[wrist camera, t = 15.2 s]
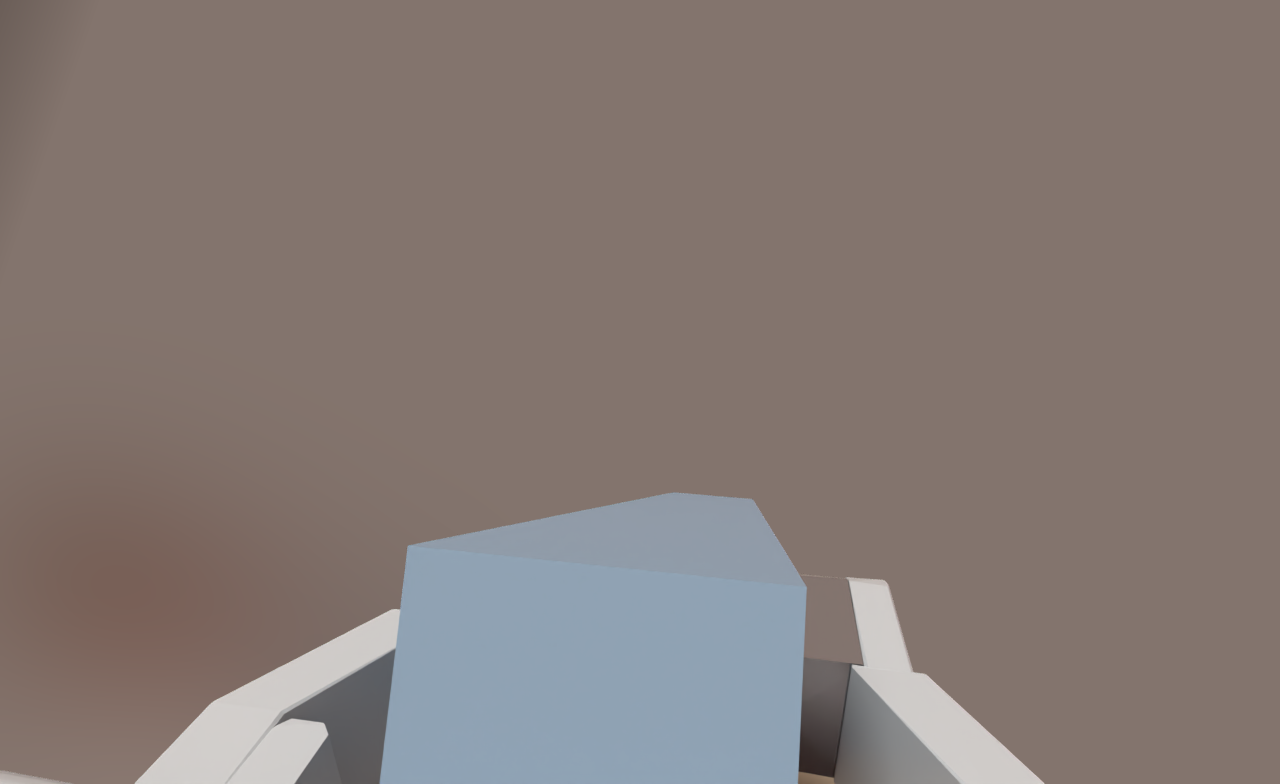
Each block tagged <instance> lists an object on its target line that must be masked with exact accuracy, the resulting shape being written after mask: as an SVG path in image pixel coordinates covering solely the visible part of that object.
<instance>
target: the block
mask: <svg viewBox="0 0 1280 784" xmlns="http://www.w3.org/2000/svg"><path fill="white" fill-rule="evenodd" d="M806 593H807V587H806V585H805V583H804V582H803V580H802V579H801V577H800V575H799V574H798V572H797V570H796V569H795V567H794V566H793V564H792V562H791V561H790V559H789V557H788V556H787V554H786V553H785V551H784V549H783V548H782V546H781V544H780V543H779V541H778V540H777V538H776V536H775V535H774V533H773V531H772V530H771V528H770V527H769V525H768V523H767V522H766V520H765V519H764V517H763V515H762V514H761V512H760V511H759V509H758V507H757V505H756V504H755V502H754V501H753V499H745V498H732V497H720V496H709V495H696V494H685V493H684V494H683V493H669V494H663V495H658V496H653V497H648V498H643V499H638V500H633V501H628V502H623V503H618V504H613V505H609V506H604V507H599V508H594V509H588V510H583V511H578V512H573V513H568V514H563V515H558V516H553V517H548V518H544V519H539V520H533V521H528V522H523V523H518V524H513V525H509V526H503V527H499V528H493V529H489V530H484V531H479V532H474V533H469V534H464V535H459V536H454V537H449V538H444V539H439V540H434V541H429V542H424V543H419V544H414V545H409V546H408V550H407V559H406V567H405V575H404V584H403V592H402V600H401V608H400V617H399V625H398V633H397V642H396V650H395V659H394V667H393V675H392V684H391V692H390V700H389V709H388V717H387V725H386V734H385V742H384V751H383V759H382V767H381V776H380V784H798V770H799V748H800V726H801V704H802V681H803V659H804V637H805V615H806Z"/></svg>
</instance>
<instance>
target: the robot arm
mask: <svg viewBox="0 0 1280 784" xmlns="http://www.w3.org/2000/svg"><path fill="white" fill-rule="evenodd" d="M799 575H800V577H801V579H802V580H803V582H804V583H805V585H806V587H807V593H806V615H805V637H804V659H803V681H802V704H801V726H800V748H799V770H798V772H803V773H809V774H815V775H820V776H826V777H832V778H834V783H835V784H1044V783H1043V782H1042V781H1041V780H1040V779H1039V778H1038V777H1037V776H1036V775H1035V774H1033V773H1032V772H1031V771H1030V770H1029V769H1028V768H1027V767H1026V766H1025V765H1024V764H1023V763H1022V762H1021V761H1019V760H1018V759H1017V758H1016V757H1015V756H1014V755H1013V754H1012V753H1011V752H1010V751H1009V750H1007V749H1006V748H1005V747H1004V746H1003V745H1002V744H1001V743H1000V742H999V741H998V740H997V739H995V737H993V736H992V735H991V734H990V733H989V732H988V731H987V730H986V729H985V728H984V727H983V726H981V725H980V724H979V723H978V722H977V721H976V720H975V719H974V718H973V717H972V716H971V715H970V714H968V713H967V712H966V711H965V710H964V709H963V708H962V707H961V706H960V705H959V704H957V702H955V701H954V700H953V699H952V698H951V697H950V696H949V695H948V694H947V693H946V692H945V691H943V690H942V689H941V688H940V687H939V686H938V685H937V684H936V683H935V682H934V681H933V680H931V679H930V678H929V677H928V676H927V675H926V674H921V673H913V669H912V666H911V662H910V659H909V655H908V652H907V648H906V645H905V641H904V638H903V634H902V631H901V627H900V623H899V620H898V616H897V613H896V609H895V606H894V602H893V599H892V595H891V592H890V588H889V585H888V584H887V583H886V582H885V581H884V580H875V579H861V578H848V577H846V579H844V578H834V577H824V576H814V575H803V574H799ZM399 617H400V610H396V609H392V610H390V611H388V612H386V613H384V614H382V615H380V616H378V617H377V618H374V619H372V620H371V621H369V622H367V623H365V624H363V625H361V626H359V627H357V628H355V629H353V630H351V631H349V632H347V633H346V634H343V635H342V636H339V637H338V638H336V639H334V640H332V641H330V642H328V643H326V644H324V645H322V646H320V647H318V648H316V649H314V650H313V651H310V652H308V653H307V654H305V655H303V656H301V657H299V658H297V659H295V660H293V661H291V662H289V663H287V664H285V665H283V666H281V667H279V668H278V669H276V670H274V671H272V672H270V673H268V674H266V675H264V676H262V677H260V678H258V679H256V680H254V681H252V682H250V683H248V684H246V685H245V686H243V687H241V688H239V689H237V690H235V691H233V692H231V693H229V694H227V695H225V696H223V697H221V698H219V699H217V700H215V701H214V702H212V703H211V704H210V705H209V706H208V707H207V708H206V709H205V710H204V711H203V712H202V713H201V714H200V716H198V718H197V719H196V720H195V721H194V722H193V723H192V724H191V725H190V726H189V727H188V728H187V729H186V730H185V731H184V732H183V734H181V735H180V736H179V737H178V739H177V740H176V741H175V742H174V743H173V744H172V745H171V746H170V747H169V748H168V749H167V750H166V751H165V752H164V753H163V754H162V755H161V756H160V757H159V758H158V759H157V760H156V762H155V763H154V764H153V765H152V766H151V767H150V768H149V769H148V770H147V771H146V772H145V773H144V774H143V775H142V776H141V777H140V778H139V779H138V780H137V782H136V783H135V784H380V776H381V767H382V759H383V751H384V742H385V734H386V725H387V717H388V709H389V700H390V692H391V684H392V675H393V667H394V659H395V650H396V642H397V633H398V625H399ZM0 784H72V783H67V782H61V781H56V780H51V779H46V778H40V777H35V776H29V775H24V774H19V773H13V772H7V771H2V770H0Z"/></svg>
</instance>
